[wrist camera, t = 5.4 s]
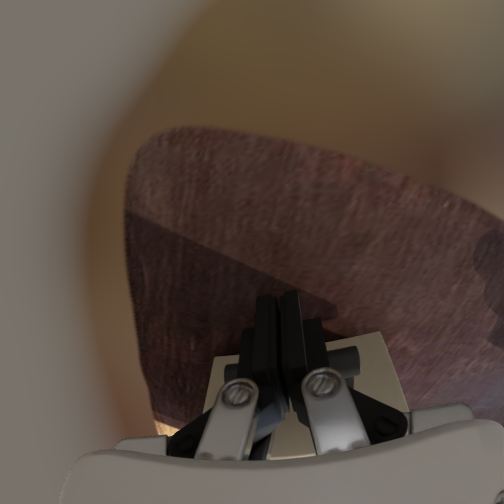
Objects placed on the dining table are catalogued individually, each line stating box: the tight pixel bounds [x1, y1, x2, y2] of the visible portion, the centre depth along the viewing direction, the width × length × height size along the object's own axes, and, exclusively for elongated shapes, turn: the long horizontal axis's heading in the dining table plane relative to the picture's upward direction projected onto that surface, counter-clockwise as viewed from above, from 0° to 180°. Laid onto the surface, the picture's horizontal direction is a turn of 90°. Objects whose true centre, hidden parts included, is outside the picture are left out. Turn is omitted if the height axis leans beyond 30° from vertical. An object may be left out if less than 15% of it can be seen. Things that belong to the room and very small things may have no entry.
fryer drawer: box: [203, 331, 409, 460], centre depth 16 cm, size 18×11×8 cm, turn 13°
